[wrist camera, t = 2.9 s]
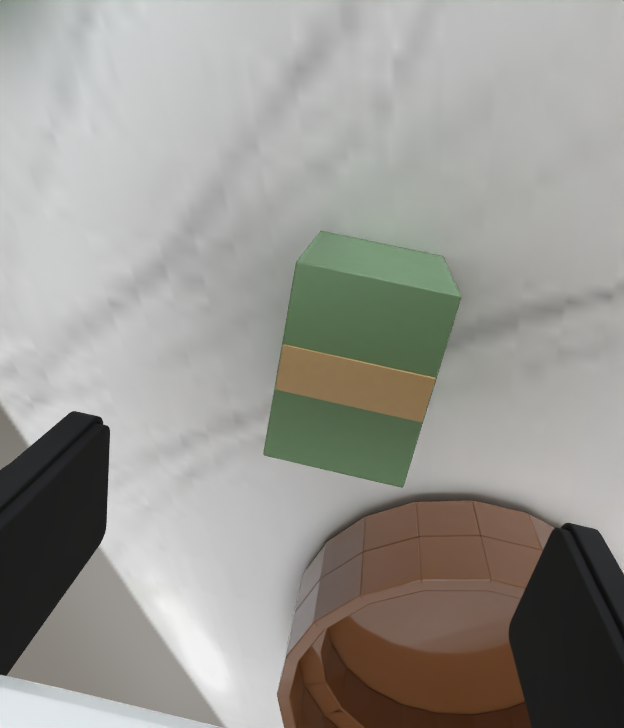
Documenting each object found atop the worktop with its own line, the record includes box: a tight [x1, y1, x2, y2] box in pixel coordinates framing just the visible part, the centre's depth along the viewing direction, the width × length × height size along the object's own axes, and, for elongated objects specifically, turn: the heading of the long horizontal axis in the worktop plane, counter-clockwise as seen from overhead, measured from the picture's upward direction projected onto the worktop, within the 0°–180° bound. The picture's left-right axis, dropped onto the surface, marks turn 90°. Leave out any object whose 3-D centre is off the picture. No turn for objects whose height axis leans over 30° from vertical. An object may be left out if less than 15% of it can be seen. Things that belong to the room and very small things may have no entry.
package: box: [263, 231, 461, 487], centre depth 20 cm, size 5×7×6 cm
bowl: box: [277, 500, 554, 728], centre depth 26 cm, size 16×16×6 cm
